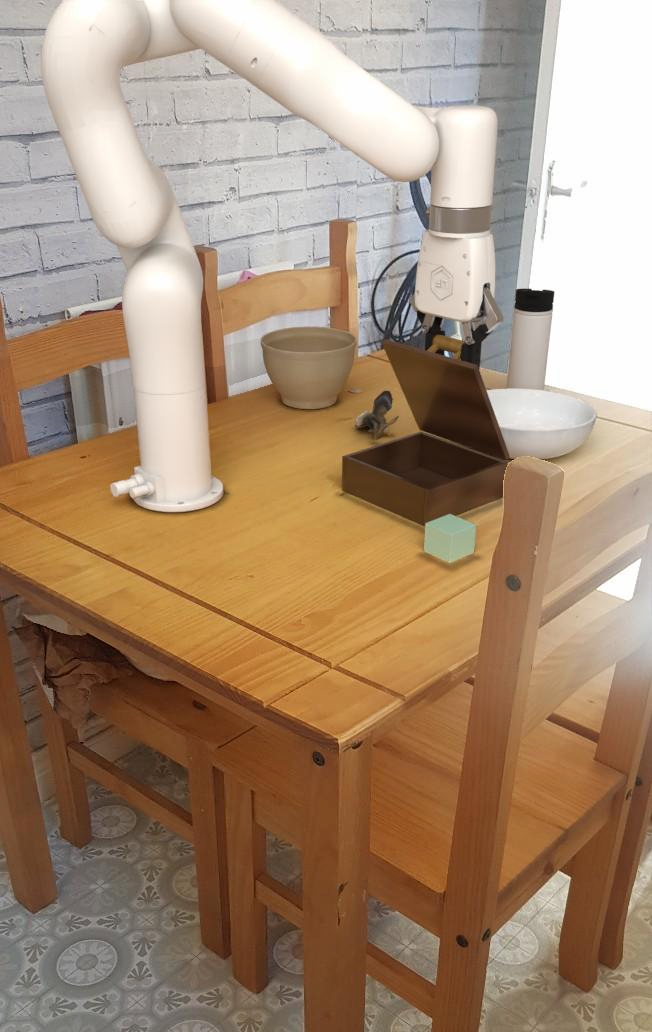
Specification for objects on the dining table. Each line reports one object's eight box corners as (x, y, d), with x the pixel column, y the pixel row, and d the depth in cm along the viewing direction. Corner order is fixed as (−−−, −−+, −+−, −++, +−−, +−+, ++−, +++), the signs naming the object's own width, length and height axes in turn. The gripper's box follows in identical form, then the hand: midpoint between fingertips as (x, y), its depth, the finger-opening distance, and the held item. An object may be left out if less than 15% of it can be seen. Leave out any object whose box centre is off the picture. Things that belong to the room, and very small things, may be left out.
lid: (473, 369, 127) (500, 339, 128) (381, 342, 138) (406, 315, 139) (506, 460, 139) (530, 433, 140) (419, 430, 150) (442, 404, 151)
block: (449, 567, 125) (451, 534, 123) (423, 555, 128) (425, 523, 126) (473, 557, 128) (476, 524, 125) (447, 545, 130) (449, 513, 128)
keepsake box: (426, 532, 134) (428, 490, 131) (341, 495, 144) (342, 456, 141) (504, 501, 143) (508, 461, 140) (418, 468, 153) (420, 431, 150)
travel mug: (501, 413, 175) (513, 289, 164) (507, 401, 180) (518, 281, 169) (538, 416, 173) (552, 292, 162) (543, 404, 178) (557, 283, 168)
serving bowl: (620, 460, 156) (627, 416, 152) (507, 485, 147) (512, 438, 144) (534, 421, 171) (538, 379, 168) (427, 441, 163) (430, 398, 159)
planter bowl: (244, 400, 181) (241, 336, 175) (315, 382, 189) (315, 321, 184) (301, 423, 170) (301, 356, 164) (374, 403, 179) (376, 339, 173)
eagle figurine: (411, 435, 162) (402, 407, 168) (388, 401, 157) (380, 374, 164) (369, 460, 164) (362, 431, 170) (346, 427, 160) (340, 399, 166)
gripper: (389, 215, 130) (385, 360, 140) (493, 232, 120) (482, 388, 129) (430, 209, 135) (424, 350, 144) (534, 225, 124) (520, 376, 133)
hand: (451, 366), depth 137 cm, fingers closed on lid, 5 cm apart
